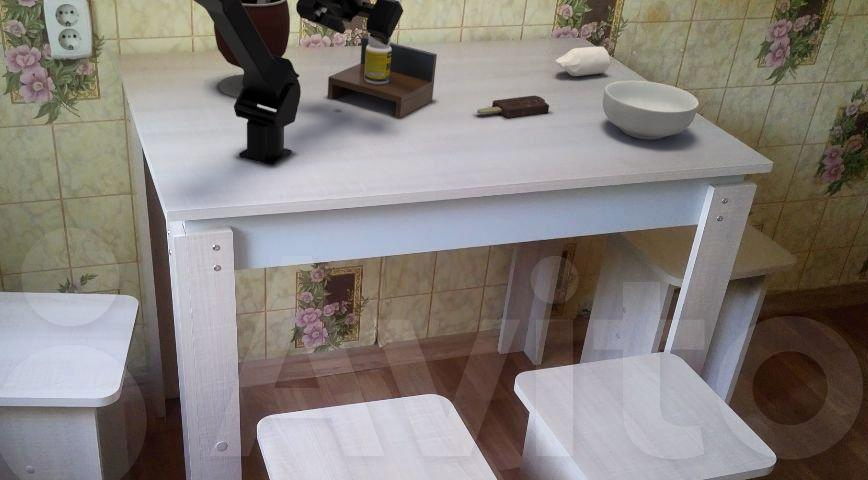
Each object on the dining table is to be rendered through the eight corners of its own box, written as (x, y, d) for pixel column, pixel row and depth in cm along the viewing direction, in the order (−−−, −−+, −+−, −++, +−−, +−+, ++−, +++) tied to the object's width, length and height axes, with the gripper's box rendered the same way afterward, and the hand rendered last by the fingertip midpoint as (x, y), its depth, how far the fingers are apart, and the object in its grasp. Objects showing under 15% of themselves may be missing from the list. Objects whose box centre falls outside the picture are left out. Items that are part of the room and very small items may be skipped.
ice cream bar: (485, 121, 180) (551, 112, 186) (486, 112, 179) (553, 104, 185) (470, 111, 184) (535, 103, 190) (471, 102, 183) (537, 94, 189)
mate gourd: (261, 106, 180) (261, -7, 168) (200, 89, 185) (196, -22, 174) (307, 84, 191) (310, -23, 180) (248, 69, 196) (248, -37, 185)
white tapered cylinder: (544, 73, 205) (548, 46, 202) (589, 68, 210) (594, 41, 207) (562, 83, 201) (567, 55, 198) (607, 77, 206) (612, 50, 203)
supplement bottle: (389, 86, 181) (392, 40, 176) (363, 84, 181) (366, 38, 176) (389, 77, 185) (392, 32, 180) (364, 75, 185) (366, 30, 180)
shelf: (399, 118, 179) (403, 69, 174) (327, 97, 186) (329, 49, 181) (432, 101, 187) (437, 54, 182) (362, 81, 194) (364, 35, 189)
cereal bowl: (705, 149, 175) (715, 111, 171) (617, 150, 173) (625, 111, 169) (666, 115, 189) (675, 78, 185) (584, 115, 186) (591, 78, 182)
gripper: (402, -50, 157) (429, 8, 171) (307, -69, 165) (341, -12, 179) (372, 10, 156) (402, 63, 170) (278, -12, 164) (314, 41, 178)
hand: (365, 37), depth 174 cm, fingers open, 9 cm apart
